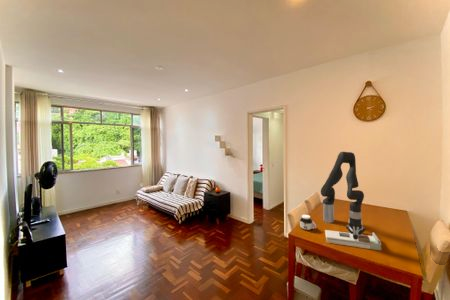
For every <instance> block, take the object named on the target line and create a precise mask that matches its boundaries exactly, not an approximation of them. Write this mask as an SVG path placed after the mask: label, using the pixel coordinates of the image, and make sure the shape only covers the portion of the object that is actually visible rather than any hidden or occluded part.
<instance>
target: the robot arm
mask: <svg viewBox="0 0 450 300" xmlns="http://www.w3.org/2000/svg"><path fill="white" fill-rule="evenodd" d="M342 164H349V168H348V169H349V170H348V171H347V173H346V176H345V178H346V179H345V180H346V183H347V191H346V196H347V199H348V200H351V201H352V202H350V203H349V212H348V213H349V214H348V217H349V218H348V224H347V225H345V228H346V229H347V230H348V233H349V232H350V233H351V234H353V238H354V240H357V239H358V235H361V234H362V235H363V233H364V232H366V228H365V227H364V226H363V224H362V225H361V220H362V219H363V218H362V204H363V201H364V198H365V194H364V192H363V191H362V190H358V189H357V188H358V187H359V182H358V181H359V180H358V178H357V166H356V164H357V163H356V155H355V153H354V152H352V151H340V152H339V153H338V154H337V157H336V160H335V162H334V164H333V167H332V169H331V171H330V173H329V174H328V177H327V179H326V181H325V182H324V184H323V185H322V187H321V189H320V194H321V196H322V197H324V199H322V217H323V218H322V221H323V222H325V223H329V224H330V223H331V224H332V223H335V199H336V191H335V188H334V186H335V185H337V184H338V183H339V182H340V181H341V179H342V177H343V170H342V168H341V167H342ZM354 189H355V190H354ZM356 189H357V190H356ZM353 200H354V201H353ZM349 226H350V227H351V229H352V230H353V232H352V231H351V230H350V229H349V228H350V227H349ZM360 229H361V230H360ZM355 230H356V231H355ZM359 230H360V231H359ZM358 231H359V232H358Z"/></svg>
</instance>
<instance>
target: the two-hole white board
mask: <svg viewBox="0 0 450 300" xmlns="http://www.w3.org/2000/svg"><path fill="white" fill-rule="evenodd" d="M371 233H372V235H368V234H367V235H368V237H369V239H370V243H368V242H360V241H359V240H358V239H357V240H354V238H353V234H351V233H349V232H344V231H337V230H329V229H328V230H327V229H324V234H325V239H326V243H329V244H335V245H342V246H347V247H348V246H349V247H355V248H360V249H361V248H362V249H369V250H375V251H382V242H381V240H380V239H379V237H378V235H376V234H375V232H371Z"/></svg>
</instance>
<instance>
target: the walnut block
mask: <svg viewBox="0 0 450 300" xmlns="http://www.w3.org/2000/svg"><path fill="white" fill-rule="evenodd" d="M358 240H359V241H360V242H368V243H370V239H369V237H368V234H362V235H358Z"/></svg>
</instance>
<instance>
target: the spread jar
mask: <svg viewBox="0 0 450 300" xmlns="http://www.w3.org/2000/svg"><path fill="white" fill-rule="evenodd" d="M299 226H300V228H301V229H302V230H303V229H304V230H303V231H306V230H309V231H311V230H312V229H316V228H317V224H316V223H315V222H314V221H313V220H312V218H311V216H310V215H309V214H302V215H301V218H300V219H299Z"/></svg>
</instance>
